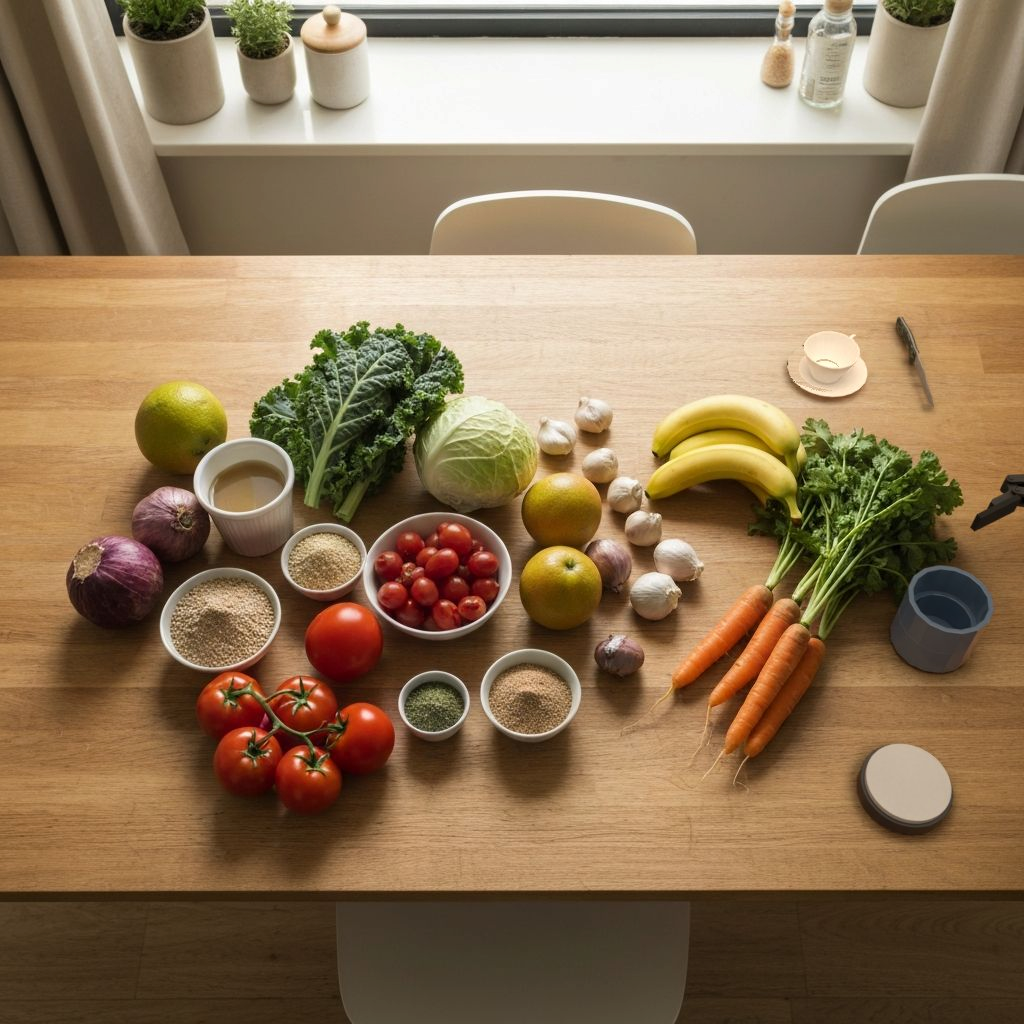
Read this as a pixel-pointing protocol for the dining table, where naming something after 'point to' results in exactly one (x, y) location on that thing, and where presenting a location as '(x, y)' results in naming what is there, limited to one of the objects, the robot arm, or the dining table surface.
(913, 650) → the cup
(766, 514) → the dining table surface
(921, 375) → the knife
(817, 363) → the teacup
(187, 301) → the dining table surface
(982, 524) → the robot arm
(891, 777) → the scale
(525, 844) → the dining table surface
